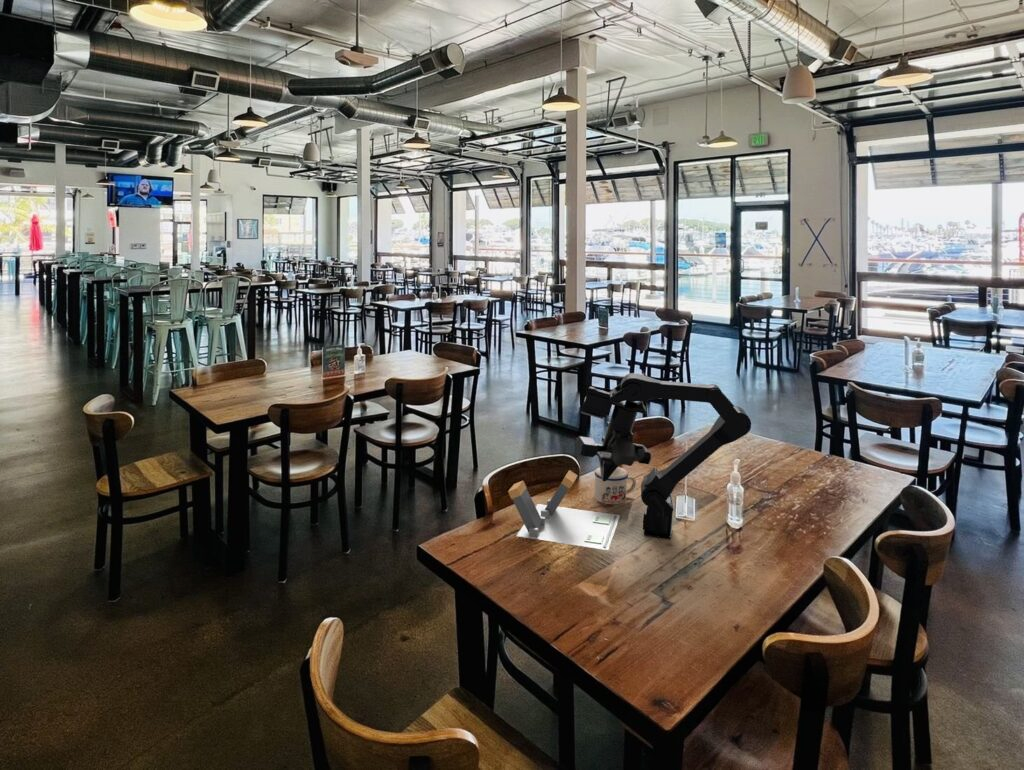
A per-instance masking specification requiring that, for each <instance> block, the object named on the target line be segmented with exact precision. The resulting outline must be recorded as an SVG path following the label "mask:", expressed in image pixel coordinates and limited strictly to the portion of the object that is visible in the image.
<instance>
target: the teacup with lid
mask: <svg viewBox="0 0 1024 770" xmlns="http://www.w3.org/2000/svg"><path fill="white" fill-rule="evenodd" d="M594 477H595V478H594V494H593V495H594V496H593V498H594V499H595V500H596V501H597V502H600V503H602V504H607V505H618V504H623V503H625V502H626V500H627V495H628V494H630V493H632V492H633V491H634V490H635V489H636V487H637V481H636V479H635V477H634V476H631V475H629V473H628V471H627V470H626V469H624V468H623V467H620V466H619V467H618V468H617V469H616V470H615V471H614V472H613V473H612V474H611V476H610V477H609V478H608V479H607V481H602V479H601V470H600V466H599V467H597V468H596V469H595V471H594ZM628 480H632V485H631V486H630V488H628V487H627V485H628V484H627V483H628ZM627 488H628V489H627Z"/></svg>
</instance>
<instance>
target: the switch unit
mask: <svg viewBox="0 0 1024 770" xmlns="http://www.w3.org/2000/svg"><path fill="white" fill-rule="evenodd" d="M550 500H551V499H550V498H549V499H547V504H543V503H542V504H541V503H537V504H536V505H535V507H536V509H537V511H538V513H539V515H540V517H541V519H542V523H541V524H540V526H539V527H538V528H533V527H530V529H529V533H528V531H527V528H526V526H525V524H524V523H523V526H522V527H521V528H520V529H519V531H518V532H517V534H516V537H518V538H519V537H520V538H525V539H532V540H540V541H546V542H551V543H558V544H563V545H571V546H576V547H583V548H584V547H585V548H590V549H594V550H596V549H597V550H603V551H609V550H610V547H611V543H612V540H613V537H614V535H615V531H616V530H617V525H618V523H619V519H620V516H621V515H619V514H612V513H607V512H598V511H591V510H585V509H576V508H570V507H562V506H558V507H557V509H556V510H555V512H554V513H553V515H552V516H551V515H549V513H550V510H545V508H546V507H547V505H548V503H549V502H550Z"/></svg>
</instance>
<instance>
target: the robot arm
mask: <svg viewBox="0 0 1024 770" xmlns="http://www.w3.org/2000/svg"><path fill="white" fill-rule="evenodd" d="M587 389H588V390H587V393H586V396H585V397H584V401H583V404H582V407H581V411H580V413H581V414H583V415H587V416H590V417H593V418H596V419H601V420H604V419H606V417H610V419H609V421H607V422H606V424H605V427H607V429H606V433H605V436H602V438H601V441H600V442H602V443H596V442H595V441H594V439H593V438H592V437H587V436H581V435H579V436H578V437H576V438H575V441H574V444H573V447H574V449H575V450H576V451H577V452H578V454H579V456H582V457H587V458H594V457H595V456H597V457H598V461H599V467H600V470H601V479H602V481H607V479H608V478H609V477H610V476H611V474H612V473H613V472H614V471H615V470H616V469H617V468H618V467H620V466H622V465H625V466H629V467H631V466H632V465H633V464H634V462H638V463H639V464H644V465H649V464H651V460H652V458H653V457H652V453H651V452H650V451H649V449H648V448H647V447H646V446H645V445H644V444H640V443H639V444H638V443H633V440H634V433H633V432H632V431H633V428H634V426H635V425H634V424H635V422H636V418H637V415H638V413H640V414H644V415H646V414H647V407H646V406H645V405H644V402H646V401H651V400H657V399H664V400H672V401H673V400H674V401H685V402H686V401H687V402H696V403H708V404H710V406H712V408H713V409H714V410H715V411H716V413H717V414H718V415H719V416H718V417H717V418H716V421H715V422H714V423H713V425H712V427H711V429H710V430H709V431H708V432H707V433H706V434H705V435H703V436H702V437H701V438H699V440H698V441H696V442H695V443H694V444H693V445H692V446H690V448H688V449H687V450H686V451H685V452H683V454H681V455H679V457H678V458H677V459H675V460H674V461H673V462H672V463H671V464H669V465H668V466H667V467H666V468H664V469H661V470H659V469H658V468H657V467H656V466H655V467H653V469H652V470H650V472H649V473H647V474H646V475H643V480H642V481H641V483H640V498H641V501H642V502H643V504H644V505H645V506H646V509H645V510H644V511H643V517H642V518H643V519H642V530H643V531H644V532H643V535H644V536H645V537H654V538H660V539H669V540H670V539H671V538H672V534H673V533H672V531H673V517H674V516H673V513H674V505H673V499H672V493H673V491H674V490H675V488H676V486H678V485H677V484H679V482H681V481H682V480H684V478H686V477H687V476H689V474H690V473H692V471H694V470H695V469H696V468H698V467H699V466H700V465H701V464H703V462H705V461H706V460H707V459H708V458H710V457H711V455H713V454H714V453H715V452H717V450H719V449H720V448H721V447H723V446H725V445H728V444H730V443H731V444H732V443H734V442H736V441H737V440H739V439H741V438H742V437H744V436H746V435H747V434H748V433H749V432H750V431H751V429H752V422H751V419H750V417H749V415H748V414H747V412H746V411H745V410H744V409H743V408H742V407H740V406H736V405H734V404H733V402H731V400H730V399H729V397H727V395H725V394H724V392H723V391H722V390H721V388H720V387H719V386H718V385H717V384H714V383H710V384H706V383H705V384H703V383H691V382H679V381H667V380H659V379H656V378H653V377H651V376H647V375H645V374H644V375H643V374H639V373H635V372H630V373H628V374H626V375H625V376H623V378H622V379H621V382H620V383H619V384H618V385H617V386H615V387H614V388H612V389H611V390H610V392H609V391H605V390H602V389H598V388H596V387H594V386H589V387H588V388H587ZM612 406H613V410H612ZM611 410H612V413H610V412H611ZM610 414H611V416H610Z"/></svg>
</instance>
